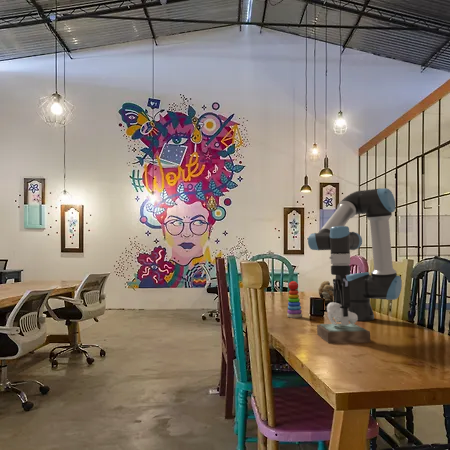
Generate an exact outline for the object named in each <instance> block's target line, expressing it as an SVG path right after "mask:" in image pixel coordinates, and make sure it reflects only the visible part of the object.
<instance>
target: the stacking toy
mask: <svg viewBox="0 0 450 450" xmlns="http://www.w3.org/2000/svg"><path fill="white" fill-rule="evenodd" d="M298 288H299V284H298V282H297V281H296V280H295V281H294V280H292V281H290V282H289V283H288V289H289V291H288V298H287V299H288V302H287V314H286V316H287V318H291V319H299V318H302V317H303V314H302V312H303V311H302V306H301V305H302V303H301V302H300V299H301V298H299V297H300V295H299V290H298Z"/></svg>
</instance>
